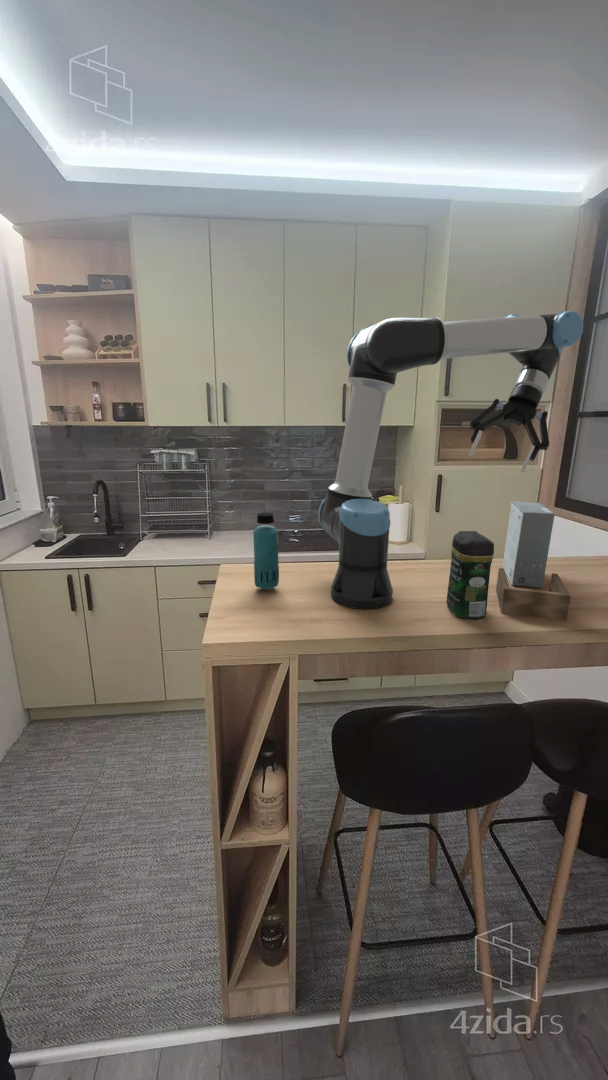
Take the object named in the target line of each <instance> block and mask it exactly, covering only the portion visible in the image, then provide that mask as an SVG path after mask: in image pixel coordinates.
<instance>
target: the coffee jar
mask: <svg viewBox="0 0 608 1080" xmlns="http://www.w3.org/2000/svg"><path fill="white" fill-rule="evenodd" d="M451 543H452V544H451V559H450V569H449V577H448V585H447V586H448V587H447V594H446V605H447V607H448V608H449V610H450V612H452V613H453V614H454V616H456V617H459V618H460V617H461V618H465V619H468V620H469V619H470V620H473V619H475V620H476V619H478V618H479V619H480V618H483V617H485V616H486V614H487V607H488V596H489V585H490V576H491V575H490V574H491V567H492V562H493V559H494V554H495V543H494V542H493V541H492V540H490V539H489V538H487V537H486V536H485V535H483V534H481V533H479V532H477V530H459V531H458V532H457V533H455V534H454V536H453V538H452V542H451Z"/></svg>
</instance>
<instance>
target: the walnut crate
mask: <svg viewBox="0 0 608 1080" xmlns="http://www.w3.org/2000/svg"><path fill="white" fill-rule="evenodd" d="M495 587H496V588H495V592H496V596H497V600H498V604H499V610H500V613H501V614H507V615H508V614H509V615H515V616H516V615H517V616H525V617H531V618H541V619H547V620H557V621H563V622H566V621H567V619H568V613H569V607H570V603H571V597H572V596H571V593H570V592H569V591H568V589H567V587H566V586H565V584H564V582H563V581H562V579H561V577H560V576H559V575H558V573H553V572H552V573H551V578H550V583H549V589H548V590H547V591H545V590H539V589H537V590H536V589H531V588H529V589H528V588H518V587H511V586H510V584H509V579H508V576H507V574H506V572H505V570H504V568H503V567H501V568H500V567H499V568H498V572H497V580H496V586H495Z"/></svg>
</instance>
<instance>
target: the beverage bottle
mask: <svg viewBox="0 0 608 1080" xmlns="http://www.w3.org/2000/svg"><path fill="white" fill-rule="evenodd" d="M256 515H257V519H256V523H258V524H261V525H259V526H256V528H255V529H253V531H252V534H253V536H252V537H253V567H254V568H253V570H254V571H253V579H254V580H253V582H254V586H256V587H257V588H259V589H265V590H266V589H267V590H268V589H274V588H276V587H277V586H279V583H280V566H279V565H280V562H279V559H280V557H279V549H280V547H279V530H278V529H277V528H276V527H275V526H274V525H269V524H273V523H274V522H275V519H274V513H271V512H260V513H258V514H256Z"/></svg>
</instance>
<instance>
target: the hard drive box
mask: <svg viewBox="0 0 608 1080" xmlns="http://www.w3.org/2000/svg"><path fill="white" fill-rule="evenodd" d="M509 511H510V512H509V517H508V518H509V519H508V526H507V531H506V540H505V547H504V552H503V553H504V554H503V559H502V560H503V561H502V568H504V570H505V574H506V577H507V579H508V582H510V583H511V585H512V586H518V587H520V586H521V587H526V588H527V587H529V588H539V589H542V588H543V585H544V579H545V575H546V569H547V568H546V567H547V561H548V557H549V556H548V555H549V550H550V546H551V544H550V543H551V538H552V537H551V536H552V533H553V526H554V522H555V521H554V520H555V516H556V514H555V513H554V512H553V511H551V510H549V509H548V508H547V507H546V506H544V505H543V504H541V503H540V502H530V501H529V502H527V501H511V503H510V509H509Z"/></svg>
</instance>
